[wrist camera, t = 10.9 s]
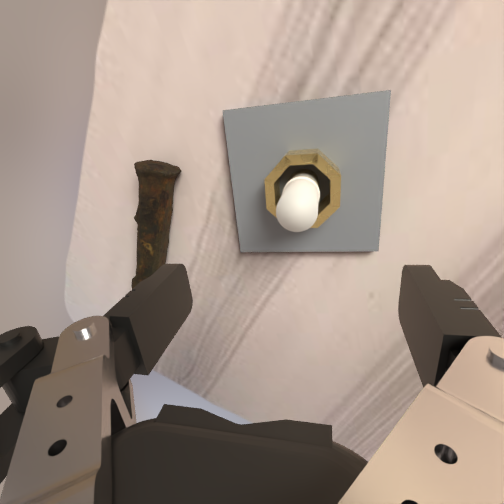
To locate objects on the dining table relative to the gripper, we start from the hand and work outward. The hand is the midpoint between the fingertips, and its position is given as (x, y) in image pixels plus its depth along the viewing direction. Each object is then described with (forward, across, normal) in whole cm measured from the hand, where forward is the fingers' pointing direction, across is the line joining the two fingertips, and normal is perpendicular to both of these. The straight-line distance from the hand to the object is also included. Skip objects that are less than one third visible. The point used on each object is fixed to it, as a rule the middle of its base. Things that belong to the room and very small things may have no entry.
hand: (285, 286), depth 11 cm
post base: (+20, 0, 0) cm, 20 cm away
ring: (+19, 0, 0) cm, 19 cm away
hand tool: (+20, +17, +6) cm, 27 cm away
